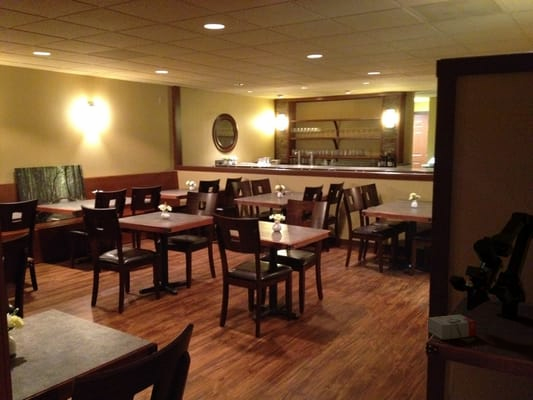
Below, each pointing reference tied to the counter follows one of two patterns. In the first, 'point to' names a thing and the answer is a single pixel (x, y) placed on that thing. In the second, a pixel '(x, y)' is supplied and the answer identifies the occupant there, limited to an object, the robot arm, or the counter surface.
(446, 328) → the ink box
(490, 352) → the counter surface
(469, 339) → the mat
